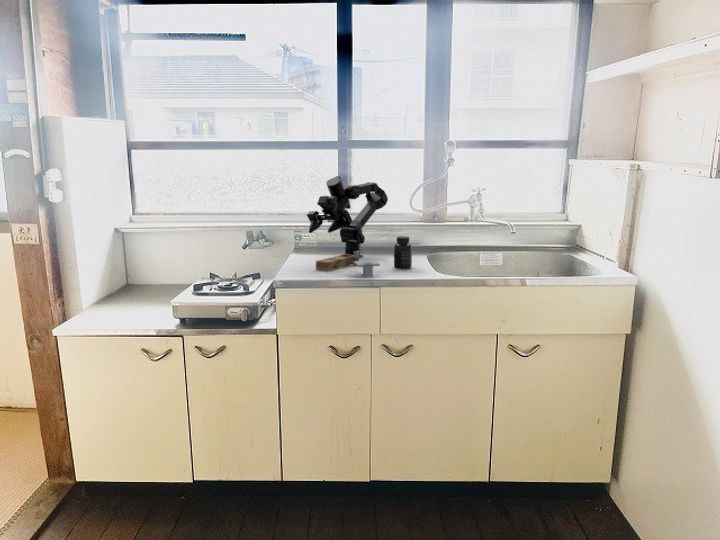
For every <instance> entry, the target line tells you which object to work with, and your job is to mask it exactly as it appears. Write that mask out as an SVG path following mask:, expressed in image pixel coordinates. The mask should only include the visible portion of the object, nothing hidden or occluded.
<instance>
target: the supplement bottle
mask: <svg viewBox="0 0 720 540" xmlns="http://www.w3.org/2000/svg"><path fill="white" fill-rule="evenodd" d="M412 253H413V247H412V244H410V237H409V236H407V235H406V236H405V235H403V236H402V235H401V236H400V235H399V236H397V237H396V244H394V245H393V267H394V269H396V270H409V269H411V268H412V267H413V266H412V265H413V264H412V262H413V261H412V259H413V257H412V256H413V254H412Z"/></svg>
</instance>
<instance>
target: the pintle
mask: <svg viewBox="0 0 720 540" xmlns="http://www.w3.org/2000/svg"><path fill="white" fill-rule="evenodd" d="M354 261H360V257H359V251H354ZM353 265H354V266H356V265H355V264H353ZM356 267H357V266H356Z"/></svg>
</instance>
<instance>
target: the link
mask: <svg viewBox="0 0 720 540" xmlns="http://www.w3.org/2000/svg"><path fill="white" fill-rule="evenodd" d="M351 264H352V265H354V255H350V254H345V253H344V254H340V255H336V256H335V255H334V256H331V257H328V258H323V259H320V260H315V269H316V270H317V271H321V272H323V271H324V272H329V271H333V269H334V270H337V269H340V267H341V268H344V267H348V266H352V265H351Z"/></svg>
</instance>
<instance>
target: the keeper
mask: <svg viewBox="0 0 720 540" xmlns="http://www.w3.org/2000/svg"><path fill="white" fill-rule="evenodd" d="M354 264H355V265H356V267H358V268H362V276H363V275H364V276H365V277H364V276H363V277H364V278H368V277H367V276H373V277H374V267H380V266H381V265H380V264H381V263H379V262H378V261H377V260H375V259H373V260H372V259H370V260H359V261H354ZM354 264H353V265H354ZM355 265H354V266H355Z"/></svg>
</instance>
